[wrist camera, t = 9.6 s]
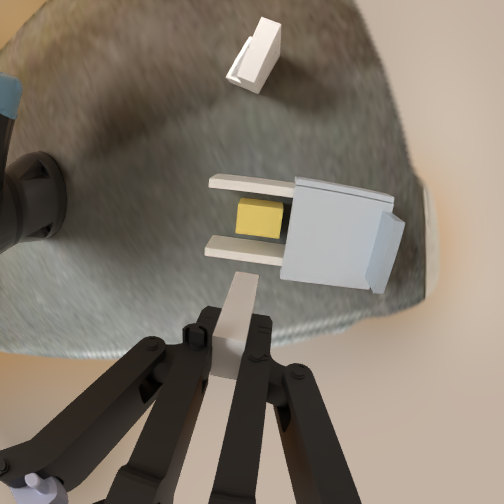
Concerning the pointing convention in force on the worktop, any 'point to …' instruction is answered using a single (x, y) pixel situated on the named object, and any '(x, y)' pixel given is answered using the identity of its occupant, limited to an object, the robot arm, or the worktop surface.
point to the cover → (341, 236)
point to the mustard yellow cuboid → (259, 217)
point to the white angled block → (257, 57)
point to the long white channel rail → (246, 247)
